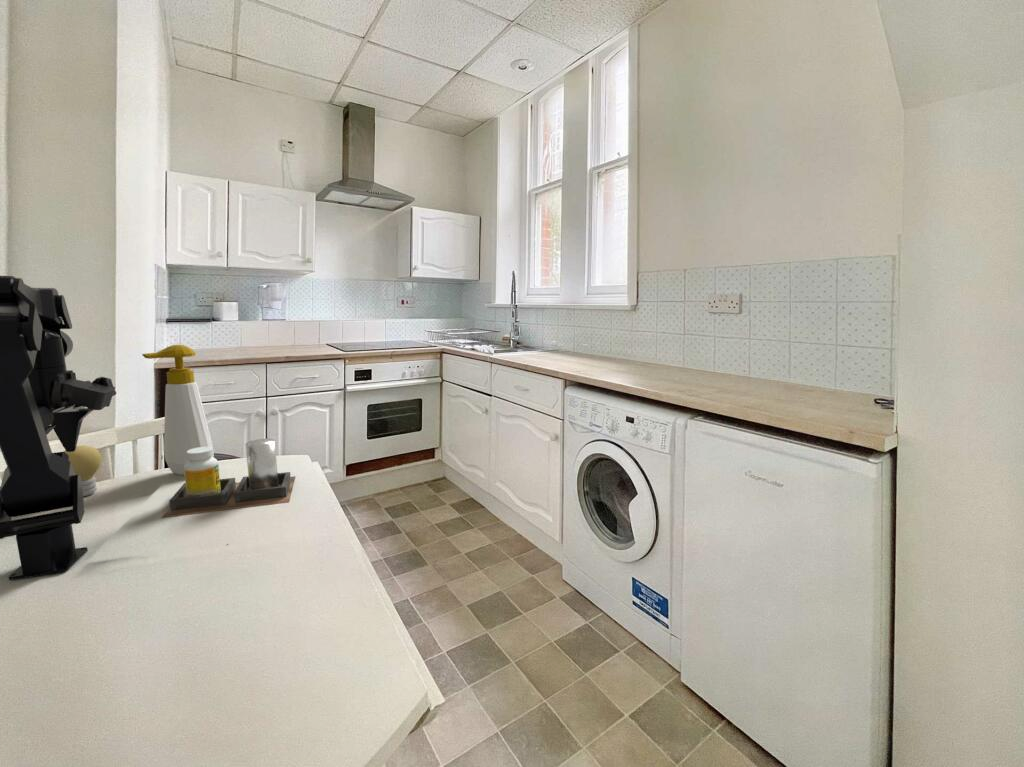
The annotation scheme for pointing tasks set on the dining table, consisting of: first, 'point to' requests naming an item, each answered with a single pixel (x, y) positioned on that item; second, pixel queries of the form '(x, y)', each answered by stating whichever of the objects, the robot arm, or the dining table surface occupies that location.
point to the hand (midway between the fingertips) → (56, 459)
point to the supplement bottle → (201, 472)
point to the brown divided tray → (231, 497)
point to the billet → (262, 463)
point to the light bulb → (85, 466)
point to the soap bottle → (182, 410)
